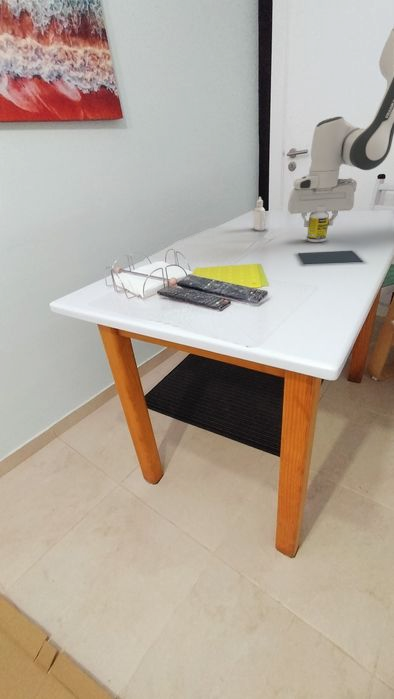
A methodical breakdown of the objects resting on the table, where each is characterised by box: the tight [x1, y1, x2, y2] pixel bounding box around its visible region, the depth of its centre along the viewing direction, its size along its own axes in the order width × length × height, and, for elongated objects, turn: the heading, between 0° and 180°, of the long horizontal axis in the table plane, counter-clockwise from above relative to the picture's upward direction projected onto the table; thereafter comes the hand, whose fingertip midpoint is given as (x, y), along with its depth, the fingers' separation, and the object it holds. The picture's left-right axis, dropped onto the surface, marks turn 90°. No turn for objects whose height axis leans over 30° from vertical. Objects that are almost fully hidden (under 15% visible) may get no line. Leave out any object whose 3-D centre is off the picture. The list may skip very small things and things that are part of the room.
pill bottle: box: [306, 207, 330, 243], centre depth 112 cm, size 6×6×11 cm
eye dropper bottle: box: [253, 196, 266, 232], centre depth 131 cm, size 4×6×12 cm
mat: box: [298, 250, 363, 265], centre depth 100 cm, size 16×10×1 cm, turn 85°
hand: (317, 225), depth 113 cm, fingers closed on pill bottle, 6 cm apart
